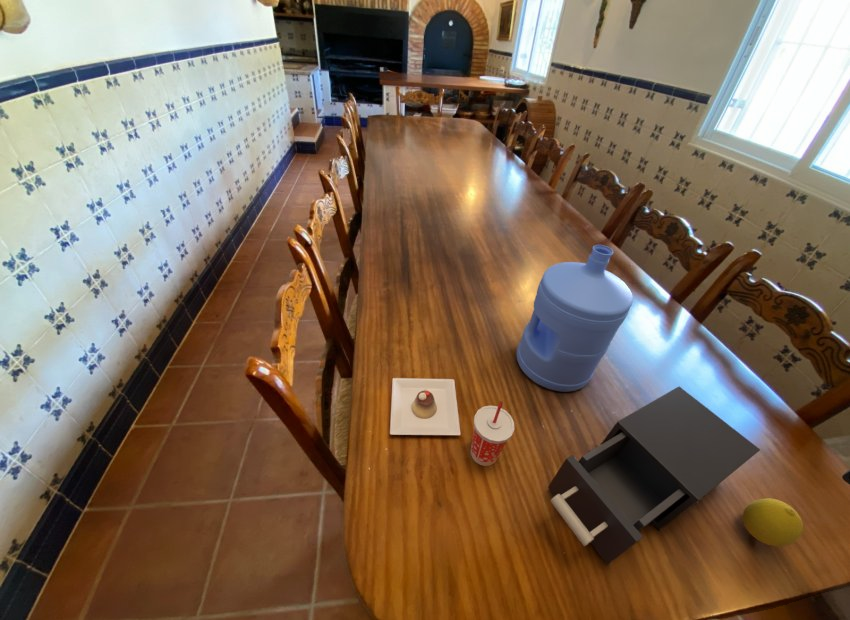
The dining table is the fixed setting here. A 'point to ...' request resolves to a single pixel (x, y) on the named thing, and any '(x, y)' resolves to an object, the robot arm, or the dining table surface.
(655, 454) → the dark drawer cabinet
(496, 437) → the beverage cup
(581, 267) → the water jug
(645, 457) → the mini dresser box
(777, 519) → the lemon
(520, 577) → the dining table surface
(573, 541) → the dining table surface
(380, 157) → the dining table surface
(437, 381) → the dessert
